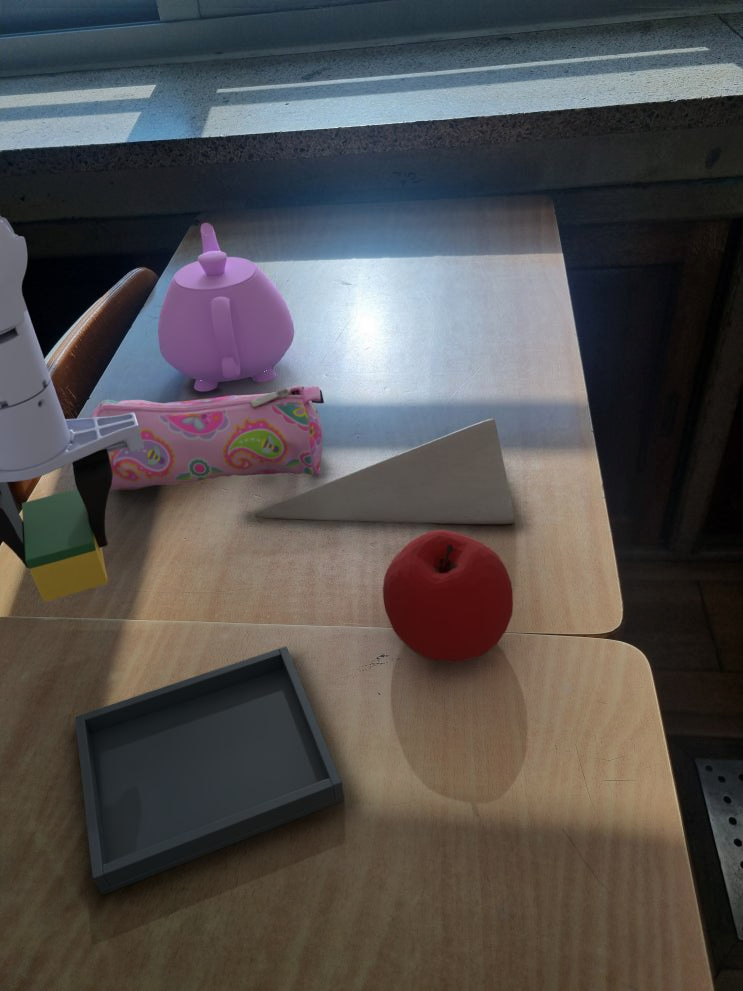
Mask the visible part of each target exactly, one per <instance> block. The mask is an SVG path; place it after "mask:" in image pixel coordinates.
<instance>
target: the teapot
mask: <svg viewBox="0 0 743 991" xmlns="http://www.w3.org/2000/svg"><path fill="white" fill-rule="evenodd" d="M200 237H201V241H202V254H200V255H198V257H197V260H196V261H194V262H191V263H188V264H186V265H184V266H182V267H181V268H179V269H178V270H177V271H176V272H175V273H174V275H173V276H172V279H171V281H170V283H169V285H168V287H167V290H166V293H165V295H164V298H163V300H162V303H161V307H160V311H159V317H158V322H157V323H158V324H157V338H158V339H157V340H158V346H159V351H160V354H161V356H162V357H163V359H164V361H165V362H166V363H168V365H170V366H171V367H172V368H174V369H175V370H177V371H178V372H179V373H181V374H183V375H184V376H187V377H189V378H191V379H193V380H195V382H194V385H193V388H194V390H195V391H198V392H209V391H213V390H215V389H216V388H217V387H218V386H219V382H231V381H238V380H242V379H247V378H252V381H254V382H257V383H267V382H271V381H272V380H274V379H275V378H276V376H277V374H276V372H275V371H274V369H273V367H274V366H276V364H278V363H279V362H280V361H281V359H282V358H283V357H284V356H285V354H286V353H287V351H288V350H289V349H290V347H291V345H292V343H293V341H294V338H295V327H294V321H293V318H292V315H291V312H290V309H289V307H288V305H287V303H286V301H285V299H284V297H283V295H282V293H281V292H280V291H279V289H277V286H276V285H275V284H274V282H272V280H271V279H270V278H269V276H267V275H266V274H265V272H264V271H263V270H262V269H261V268H260V267H259V266H258V265H257V264H255V263H254V262H253V261H251V260H249V259H247V258H243V257H237V256H228V254H227V252H225V251H221V248H220V245H219V242H218V240H217V236H216V232H215V230H214V227H213V225H212V224H210V223H209V222H204V223H202V224H201V226H200ZM266 370H267V371H266ZM264 371H265V372H264ZM200 380H202V381H200Z"/></svg>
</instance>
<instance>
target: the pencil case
mask: <svg viewBox="0 0 743 991" xmlns="http://www.w3.org/2000/svg"><path fill="white" fill-rule="evenodd" d="M324 403H325V401H324V397H323V391H322V389H320V386H319V385H308V386H304V385H300V384H298V385H295V386H292V387H289V388H282V389H279V390H277V392H276V391H274V392H273V391H272V392H270V393H257V394H256V393H255V394H241V395H240V394H239V395H235V394H233V395H223V396H219V397H218V396H217V397H209V398H198V399H190V400H184V401H170V402H164V403H163V402H156V401H151V400H146V399H129V400H127V399H125V400H124V399H123V400H118V401H116V400H113V399H103V400H102V401H100V402H99V403H98V406H96V407H95V408H94V409H93V411H92V414H91V417H90V418H95V417H109V416H118V415H124V414H128V413H135V417H136V420H137V423H138V427H139V430H140V434H141V437H142V441H143V444H144V449H141V450H137V451H133V452H130V451H128V448H124V449H121V450H117V451H113V452H109V458H110V462H111V466H112V471H113V477H112V485H111V487H110V490H113V491H134V490H139V489H142V488H143V489H144V488H147V487H153V486H163V485H164V486H165V485H187V484H194V483H197V482H201V481H206V480H211V479H212V480H213V479H217V478H222V477H233V476H236V477H237V476H239V477H240V476H241V477H243V476H262V475H263V476H264V475H265V476H266V475H277V474H293V475H303V474H305V475H308V476H311V477H315V476H317V477H318V476H320V474H321V463H322V462H321V461H322V456H323V455H322V454H323V444H324V440H323V438H324V436H323V426H322V421H321V417H320V414H319V412H318V410H317V408H316V407H315V405H314V404H324Z"/></svg>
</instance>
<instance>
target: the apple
mask: <svg viewBox="0 0 743 991" xmlns="http://www.w3.org/2000/svg"><path fill="white" fill-rule="evenodd" d="M382 599H383V600H382V601H383V606H384V610H385V613H386V615H387V618H388V620H389V623H390V626H391V628H392V630H393V631H394V633H395V634H396V636H397V637H398V638H399V640H400V641H401V642H402V643H404V644H405V645H406V646H407V647H408V648H409V649H411V650H412V651H414V652H415V653H417V654H418V655H420V656H422V657H423V658H426V659H429V660H432V661H439V662H449V663H454V662H455V663H457V662H458V663H459V662H464V661H467V660H473V659H476V658H478V657H481V656H483V655H485V654H486V653H488V652H489V651H490V650H492V648H494V647H495V646H496V645H497V644H498V642H499V641H500V640H501V638H502V637H503V635H504V634H505V633H506V631H507V629H508V626H509V624H510V621H511V619H512V615H513V610H514V591H513V585H512V581H511V578H510V575H509V572H508V569H507V567H506V565H505V564H504V562H503V561H502V558H501V557H500V555H498V554H497V552H496V551H495V550H494V549H492V548H491V547H489V546H488V545H486V544H485V543H483V542H482V541H480V540H477V539H475V538H473V537H471V536H468V535H465V534H462V533H459V532H455V531H451V530H446V529H437V530H432V531H427V532H425V533H423V534H421V535H418V536H417V537H416V538H414V539H412V540H411V541H410V542H408V543H406V545H404V546H403V547H402V549H401V550H400V551H399V552H398V554H396V555H395V557H394V558H393V559H392V561H391V562H390V564H389V565H388V567H387V569H386V572H385V574H384V577H383V584H382Z"/></svg>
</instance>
